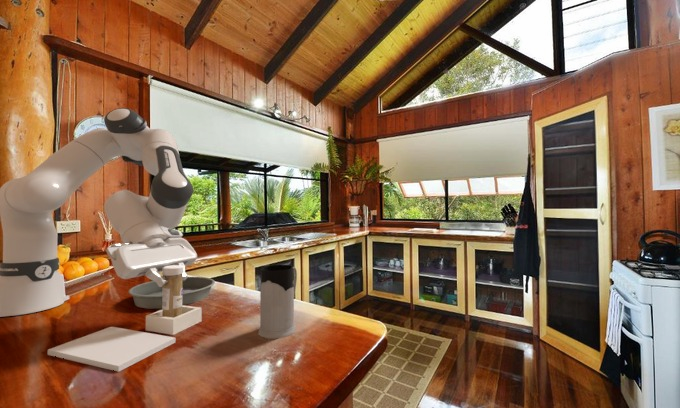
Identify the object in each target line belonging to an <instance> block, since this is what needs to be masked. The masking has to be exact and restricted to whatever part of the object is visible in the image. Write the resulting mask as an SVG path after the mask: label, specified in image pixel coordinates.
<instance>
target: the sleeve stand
mask: <svg viewBox="0 0 680 408" xmlns="http://www.w3.org/2000/svg"><path fill="white" fill-rule="evenodd" d="M202 308H203V307H200V306H199V307H198V306H190V305H182V314H181V315H179V316H177V317H174V318H172V317H165V316H162V313H163V309H162V308H161V309H159V310H157V311H155V312H152V313H150V314H149V313H148V314H147V315H145V331H147V332H152V333H153V332H155V333H159V334H166V335H172V336H174V335H176V334H178V333H180V332H182V331H184V330H187V329H188V328H190V327H192V326H195V325H196V324H199V323H201V322H202V321H203V317H202V314H203V313H202V312H203V311H202Z"/></svg>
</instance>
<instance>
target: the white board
mask: <svg viewBox="0 0 680 408" xmlns="http://www.w3.org/2000/svg"><path fill="white" fill-rule="evenodd" d="M173 344H176V337H174V336H173V337H172V336H168V335H161V334H156V333H150V332H146V331H145V332H144V331H138V330H133V329H128V328H122V327H116V326H109V327H106V328H104V329H101V330H98V331H95V332H92V333H89V334H87V335H85V336H82V337H79V338H75V339H73V340H71V341H68V342H65V343H63V344H60V345H56V346H55V347H52V348H49V349H47V356H52V357H55V356H56V357H57V358H60V359H63V358H64V360H68V361H72V362H76V363H81V364H85V365H89V366H92V367H97V368H102V369H104V370H110V371H113V370H114V371H115V372H119V373H120V372H121V371H123V370H125V369H127V368H128V367H130V366H132V365H134V364H137V363H138V362H140V361H142V360H144V359H146V358H148V357H150V356H152V355H154V354H155V353H157V352H159V351H161V350H164V349H165V348H167V347H169V346H172V345H173Z"/></svg>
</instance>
